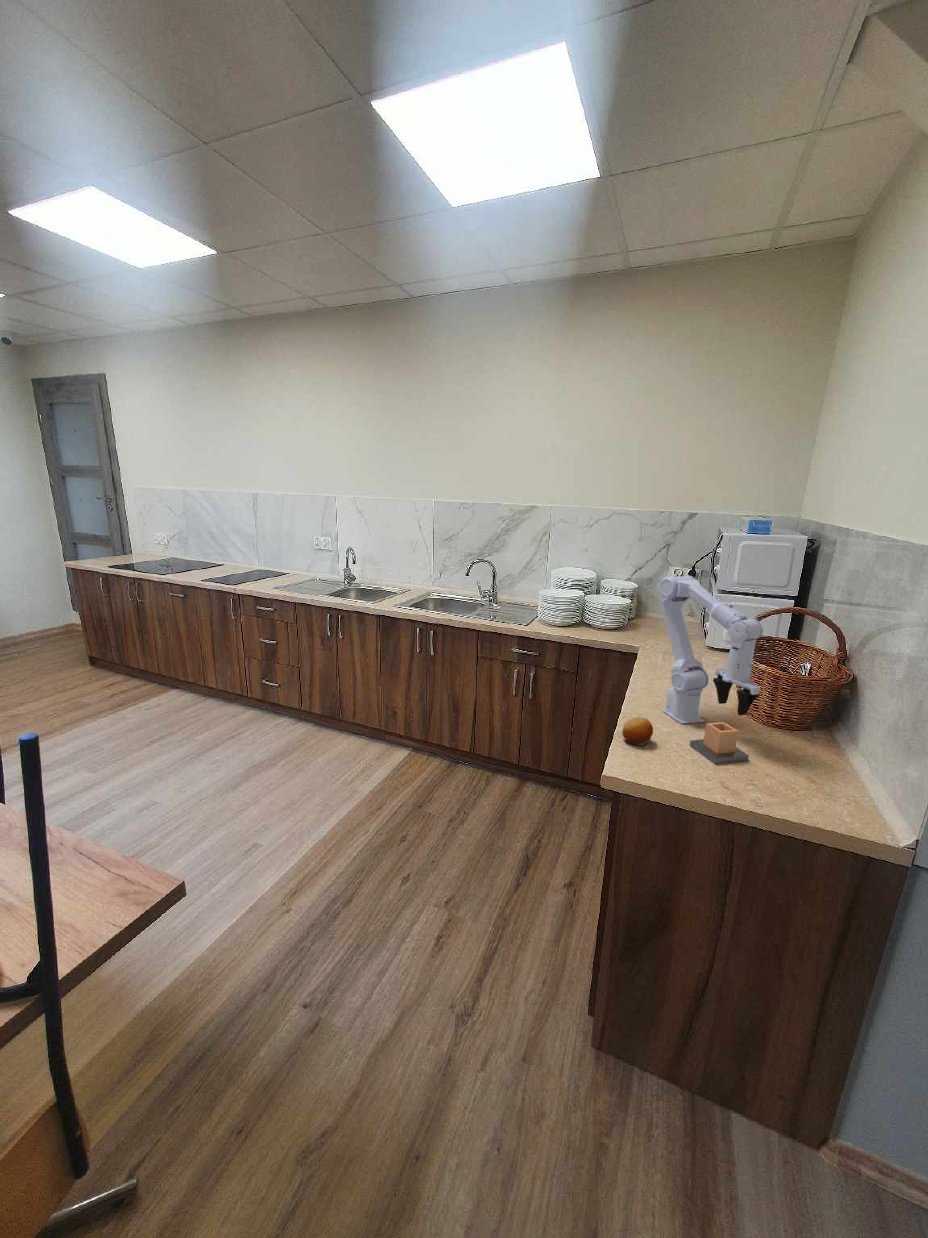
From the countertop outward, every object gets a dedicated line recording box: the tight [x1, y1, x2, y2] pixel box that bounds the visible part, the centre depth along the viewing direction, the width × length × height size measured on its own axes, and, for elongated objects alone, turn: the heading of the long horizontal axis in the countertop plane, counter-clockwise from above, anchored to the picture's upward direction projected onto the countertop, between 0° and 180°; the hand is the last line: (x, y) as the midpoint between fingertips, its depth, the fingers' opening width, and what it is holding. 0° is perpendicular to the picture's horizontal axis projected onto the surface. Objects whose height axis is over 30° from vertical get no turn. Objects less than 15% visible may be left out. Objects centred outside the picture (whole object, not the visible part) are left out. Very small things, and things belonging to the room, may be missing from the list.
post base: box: [689, 730, 750, 765], centre depth 135 cm, size 10×10×6 cm
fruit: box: [621, 716, 654, 747], centre depth 140 cm, size 8×8×8 cm
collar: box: [703, 721, 739, 754], centre depth 134 cm, size 5×5×6 cm
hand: (731, 708), depth 141 cm, fingers open, 7 cm apart
